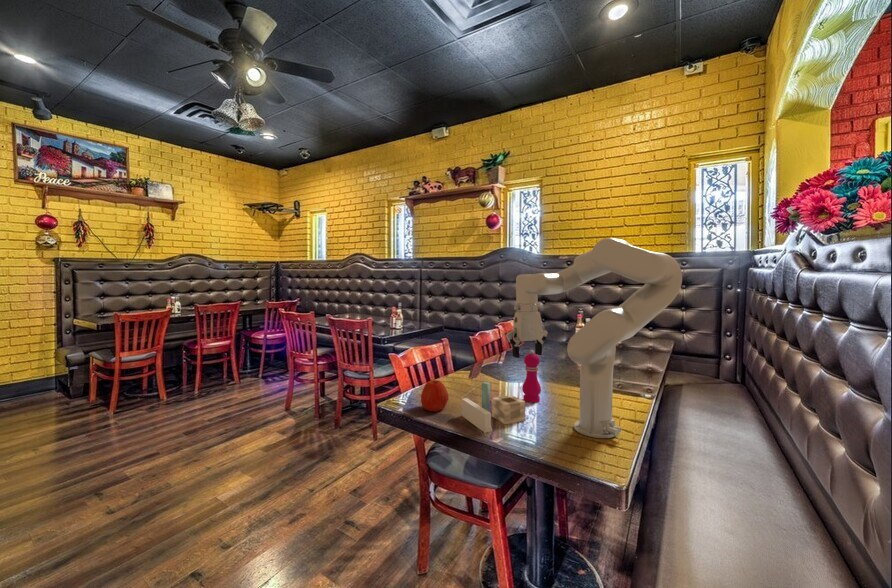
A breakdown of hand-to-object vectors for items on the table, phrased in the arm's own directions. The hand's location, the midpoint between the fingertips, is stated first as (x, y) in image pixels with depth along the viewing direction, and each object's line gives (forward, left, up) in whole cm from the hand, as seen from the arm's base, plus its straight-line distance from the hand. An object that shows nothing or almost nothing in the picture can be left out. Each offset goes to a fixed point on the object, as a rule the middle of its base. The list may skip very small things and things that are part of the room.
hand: (527, 355), depth 134 cm
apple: (+16, +30, -20) cm, 39 cm away
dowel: (+6, +14, -20) cm, 25 cm away
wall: (-3, +23, -20) cm, 31 cm away
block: (-4, +11, -20) cm, 23 cm away
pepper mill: (+8, -8, -20) cm, 23 cm away
